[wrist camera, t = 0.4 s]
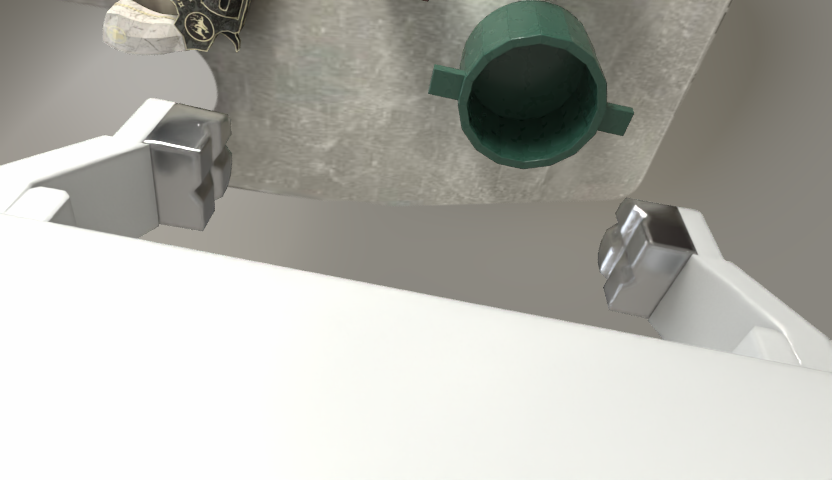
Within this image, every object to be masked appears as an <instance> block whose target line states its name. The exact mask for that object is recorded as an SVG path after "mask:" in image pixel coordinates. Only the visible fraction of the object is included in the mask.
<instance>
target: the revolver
mask: <svg viewBox="0 0 832 480" xmlns="http://www.w3.org/2000/svg"><path fill="white" fill-rule="evenodd" d="M171 1H172V2H173V3H174V4H175V7H176V9H177V12H178V14H179V15H178V16H175V15H167V14H160V13H157V12H154V11H151V10H149V9H147V8H145V7H143V6H141V5H139V4H138V3H136V2H134V1H131V0H121V1H119V2H117V3H115V4H114V5H113V7H112V8H111V9H110V10H109V11H108V12H107V14H106V17H105V20H104V23H103V42H105V43H106V44H108V45H109V46H111V47H112V48H114V49H116V50H119V51H122V52H125V53H128V54H136V55H159V54H167V53H172V52H180V51H188V50H194V49H195V50H200V51H206V52H207V51H208V49H209V48H210V47H211V45H212V44H213V42H214V41H215V39H216V37H217V35H218V33H221V34H223V35H225V36H227V37H228V38H229V39H230V40H231V41H232V42H233V43H234V45H235V48H236V52H238V50H239V49H240V43H241V40H240V37H239V34H238V33H239V32H240V31H241V29H242V28H243V26H244V24H245V20H246V16H247V12H248V9H249V5H250V1H251V0H171Z"/></svg>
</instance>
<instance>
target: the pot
mask: <svg viewBox="0 0 832 480" xmlns="http://www.w3.org/2000/svg"><path fill="white" fill-rule="evenodd" d="M428 94H432V95H436V96H441V97H446V98H450V99H455V100H458V109H459V115H460V121H461V127H462V130H463V132H464V133H465V135H466V136H467V137H468V139H469V140H470V142H471V143H472V145H473V146H474V148H475V149H476V150H477V151H479V152H480V153H482V154H483V155H485V156H486V157H488V158H489V159H491V160H493V161H494V162H496V163H497V164H501V165H506V166H511V167H515V168H520V169H528V168H536V167H544V166H551V165H553V164H555V163H557V162H559V161H562V160H564V159H566V158H568V157H570V156H572V155H574V154H575V153H577V152H578V151H579V150H580V149H581V148H582V147H583V146H584V145H585V144H586V143H587V142H588V141H589V140H590V139H591V138H592V137H593V136H594V135H595V134H596V132H597V131H602V132H607V133H611V134H616V135H620V136H623V135H624V133H625V131H626V129H627V127H628V125H629V123H630V121H631V119H632V117H633V115H634V111H633V109H632V108H630V107H625V106H621V105H616V104H612V103H607V83H606V79H605V77H604V74H603V71H602V69H601V66H600V64H599V61H598V58H597V56H596V53H595V50H594V48H593V45H592V43H591V41H590V39H589V37H588V35H587V32H586V31H585V29H584V27H583V25H582V23H581V22H580V21H579V20H578V19H577V18H576V17H575V16H573V15H572V14H571V13H570V12H568V11H567V10H565V9H564V8H562V7H560V6H558V5H555V4H552V3H549V2H544V1H537V0H527V1H519V2H515V3H511V4H508V5H506V6H503V7H501V8H499V9H497V10H495V11H494V12H492V13H491V14H489V15H488V16H486V17H485V18H484V19H483V20H482V21H481V22H480V23H479V24H478V25H477V26H476V28H475V29H474V30H473V32H472V33H471V35H470V36H469V38H468V40H467V41H466V44H465V47H464V50H463V54H462V59H461V63H460V70H459V69H454V68H450V67H445V66H441V65H436V64H435V65H434V69H433V73H432V77H431V82H430V86H429V92H428Z"/></svg>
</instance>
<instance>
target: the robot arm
mask: <svg viewBox="0 0 832 480" xmlns="http://www.w3.org/2000/svg"><path fill="white" fill-rule="evenodd" d="M231 135H232V131H231V119H230V117H229V115H228V114H224V113H220V112H215V111H211V110H206V109H201V108H198V107H193V106H189V105H184V104H178V103H176V102H171V101H166V100H161V99H156V98H149V99H147V100H146V101H145V102H144V103H143V104H142V106H141V107H140V108H139V109H138V110H137V111H136V112H135V113H134V114H133V115H132V116H131V117H130V118H129V119H128V120H127V122H126V123H125V124H124V125H123V126H122V127H121V128H120V129H119V130H118V131H117V133H115V134H114V136H112V137H109V136H100V137H97V138H94V139H90V140H87V141H83V142H80V143H77V144H73V145H70V146H66V147H63V148H60V149H56V150H53V151H49V152H46V153H42V154H39V155H35V156H32V157H28V158H26V159H22V160H18V161H15V162H11V163H8V164H4V165H1V166H0V480H832V341H831V340H830V339H829V338H828V337H827V336H825V335H824V334H823V333H821V332H820V331H819V330H818V329H817V328H815V327H814V326H813V325H811V324H810V323H809V322H807V321H806V320H805V319H804V318H803V317H801V316H800V315H799V314H797V313H796V312H795V311H794V310H792V309H791V308H790V307H788V306H787V305H786V304H785V303H783V302H782V301H781V300H779V299H778V298H777V297H776V296H774V295H773V294H772V293H771V292H769V291H768V290H767V289H765V288H764V287H763V286H761V285H760V284H759V283H758V282H757V281H755V280H754V279H753V278H751V277H750V276H749V275H748V274H746V273H745V272H744V271H742V270H741V269H740V268H739V267H737V266H736V265H735V264H734V263H732V262H728V261H725V260H724V258H723V256H722V254H721V252H720V250H719V248H718V246H717V244H716V242H715V240H714V238H713V236H712V234H711V231H710V230H709V227H708V225H707V223H706V221H705V219H704V217H703V215H702V214H701V213H700V212H699V211H697V210H694V209H688V208H681V207H676V206H669V205H664V204H659V203H653V202H648V201H642V200H637V199H631V198H625V199H624V201H623V202H622V203H621V204H620V206H619V207H618V209H617V211H616V217H617V220H618V223H617V224H615V225H614V226H612V227H610V228H609V229H607V230H606V232H605V234H604V236H603V239H602V240H601V243H600V248H599V252H598V265H599V270H600V273H601V274H602V275H603V276H605V278H606V279H607V281H606V283H605V285H604V287H603V288H604V292H605V296H606V300H607V304H608V308H609V310H611V311H615V312H620V313H624V314H629V315H634V316H638V317H642V318H647V319H648V321H649V323H650V324H651V325H652V326H653V327H654V329H655V330H656V331H657V332H658V333H659V335H660V336H661V337H662V339H663V340H662V339H657V338H652V337H647V336H641V335H636V334H631V333H626V332H620V331H615V330H610V329H604V328H600V327H594V326H589V325H584V324H579V323H574V322H568V321H563V320H558V319H552V318H547V317H542V316H537V315H532V314H527V313H521V312H516V311H511V310H506V309H500V308H495V307H490V306H484V305H480V304H474V303H469V302H464V301H458V300H453V299H448V298H443V297H438V296H433V295H427V294H422V293H417V292H412V291H406V290H401V289H396V288H391V287H386V286H381V285H375V284H370V283H365V282H359V281H354V280H349V279H344V278H338V277H333V276H328V275H323V274H318V273H313V272H308V271H302V270H297V269H292V268H286V267H281V266H276V265H271V264H266V263H260V262H255V261H250V260H244V259H240V258H235V257H229V256H224V255H219V254H214V253H208V252H203V251H198V250H193V249H188V248H183V247H177V246H172V245H167V244H162V243H156V242H151V241H145V240H140V239H138V238H139V237H141V236H143V235H144V234H146V233H148V232H149V231H151V230H153V229H155V228H156V227H158V226H159V224H163V225H168V226H174V227H180V228H186V229H192V230H198V231H203V230H204V229H205V227H206V225H207V223H208V222H209V219H210V218H211V216H212V214H213V213H214V211H215V203H214V201H215V200H217V199H219V198H221V197H223V195H224V193H225V191H226V189H227V187H228V183H229V180H230V176H231V169H232V153H231V151H230V150H229V149H228V147H227V146H226V143H227V141H228V140H229V138H230V136H231Z"/></svg>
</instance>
